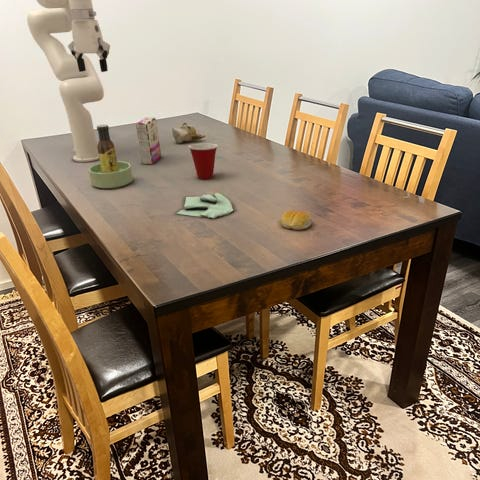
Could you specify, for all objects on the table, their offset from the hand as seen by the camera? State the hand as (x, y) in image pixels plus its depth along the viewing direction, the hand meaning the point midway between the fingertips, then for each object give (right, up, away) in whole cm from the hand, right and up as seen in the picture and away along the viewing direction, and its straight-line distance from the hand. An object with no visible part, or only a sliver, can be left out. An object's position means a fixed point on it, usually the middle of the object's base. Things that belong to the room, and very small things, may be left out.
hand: (93, 71), depth 174 cm
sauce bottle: (+5, -38, +7) cm, 39 cm away
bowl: (+5, -38, +8) cm, 40 cm away
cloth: (+42, -53, -15) cm, 70 cm away
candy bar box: (+16, -22, +31) cm, 41 cm away
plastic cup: (+40, -36, +10) cm, 55 cm away
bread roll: (+70, -62, -31) cm, 99 cm away
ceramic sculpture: (+28, -5, +56) cm, 63 cm away
